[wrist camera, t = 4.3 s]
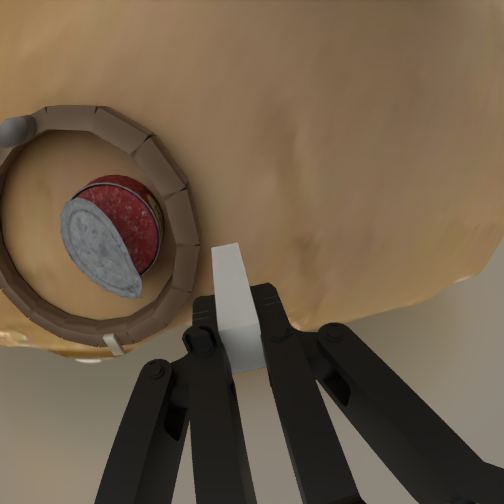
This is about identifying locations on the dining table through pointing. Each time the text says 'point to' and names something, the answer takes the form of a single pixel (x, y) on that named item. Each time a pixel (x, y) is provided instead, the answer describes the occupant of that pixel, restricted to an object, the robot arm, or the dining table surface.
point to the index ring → (165, 181)
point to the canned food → (113, 232)
